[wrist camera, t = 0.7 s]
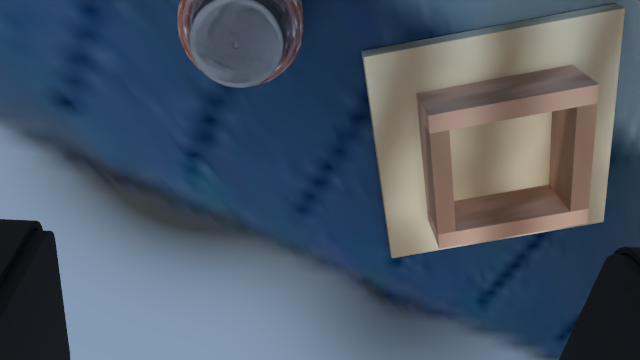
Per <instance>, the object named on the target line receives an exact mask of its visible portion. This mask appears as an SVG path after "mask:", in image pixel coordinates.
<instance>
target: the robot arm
mask: <svg viewBox="0 0 640 360" xmlns="http://www.w3.org/2000/svg"><path fill="white" fill-rule="evenodd" d="M0 360H70V351H69V343H68V336H67V328H66V321H65V312H64V305H63V297H62V289H61V281H60V273H59V267H58V258H57V251H56V243H55V237H54V234H53V232H52V231H43V229H42V226H41V224H40V222H38V221H28V220H5V219H0ZM559 360H640V248H639V247H622V248H619V249H618V250H616V251H615V252H614V254H613V255H610V256H609V257H607V259H606V260H605V262H604V264H603V266H602V269H601V271H600V273H599V275H598V277H597V279H596V281H595V284H594V286H593V288H592V290H591V292H590V294H589V297H588V299H587V301H586V303H585V305H584V307H583V309H582V312H581V314H580V316H579V318H578V320H577V322H576V324H575V327H574V329H573V331H572V333H571V335H570V337H569V340H568V342H567V344H566V346H565V348H564V350H563V352H562V355H561V357H560V359H559Z"/></svg>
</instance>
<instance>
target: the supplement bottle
mask: <svg viewBox="0 0 640 360" xmlns="http://www.w3.org/2000/svg"><path fill="white" fill-rule="evenodd" d="M177 27H178V34H179V37H180V41H181V43H182V46H183V48H184V50H185V52H186V54H187V55H188V57H189V58H190V59H191V61H192V62H193V63H194V65H195V66H196V67H198V68H199V69H200V70H201V71H202V72H203V73H204V74H205V75H206V76H208V77H209V78H210V79H212V80H213V81H215V82H217V83H219V84H221V85H224V86H228V87H232V88H245V87H250V86H255V85H259V84H263V83H266V82H268V81H271V80H272V79H274V78H276V77H277V76H279V75H280V74H281V73H282V72H284V71H285V70H286V69H287V68H288V67H289V66H290V64H291V63H292V62H293V60H294V58H295V57H296V55H297V53H298V51H299V49H300V47H301V44H302V39H303V35H304V34H303V33H304V18H303V7H302V2H301V0H180V2H179V6H178V12H177Z"/></svg>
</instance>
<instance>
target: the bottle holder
mask: <svg viewBox="0 0 640 360" xmlns="http://www.w3.org/2000/svg"><path fill="white" fill-rule="evenodd" d="M624 16H625V8H624V7H622V6H620V5H618V4H609V5H604V6H599V7H594V8H588V9H583V10H578V11H572V12H567V13H562V14H556V15H551V16H546V17H540V18H535V19H530V20H525V21H519V22H514V23H509V24H503V25H498V26H493V27H487V28H482V29H477V30H472V31H466V32H461V33H456V34H450V35H445V36H440V37H434V38H429V39H424V40H418V41H413V42H408V43H403V44H397V45H392V46H387V47H381V48H376V49H371V50H365V51H361V52H362V59H363V66H364V73H365V80H366V87H367V94H368V102H369V109H370V116H371V123H372V130H373V137H374V144H375V151H376V158H377V165H378V172H379V179H380V186H381V193H382V200H383V207H384V214H385V221H386V228H387V235H388V243H389V249H390V253H391V257H392V258H395V257H401V256H407V255H413V254H419V253H425V252H430V251H436V250H442V249H448V248H454V247H460V246H465V245H471V244H477V243H483V242H489V241H494V240H500V239H506V238H512V237H518V236H524V235H529V234H535V233H541V232H547V231H553V230H559V229H564V228H570V227H576V226H582V225H588V224H593V223H599V222H603V221H604V211H605V202H606V192H607V182H608V172H609V162H610V153H611V143H612V133H613V123H614V114H615V104H616V94H617V84H618V74H619V65H620V55H621V45H622V35H623V26H624Z"/></svg>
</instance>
